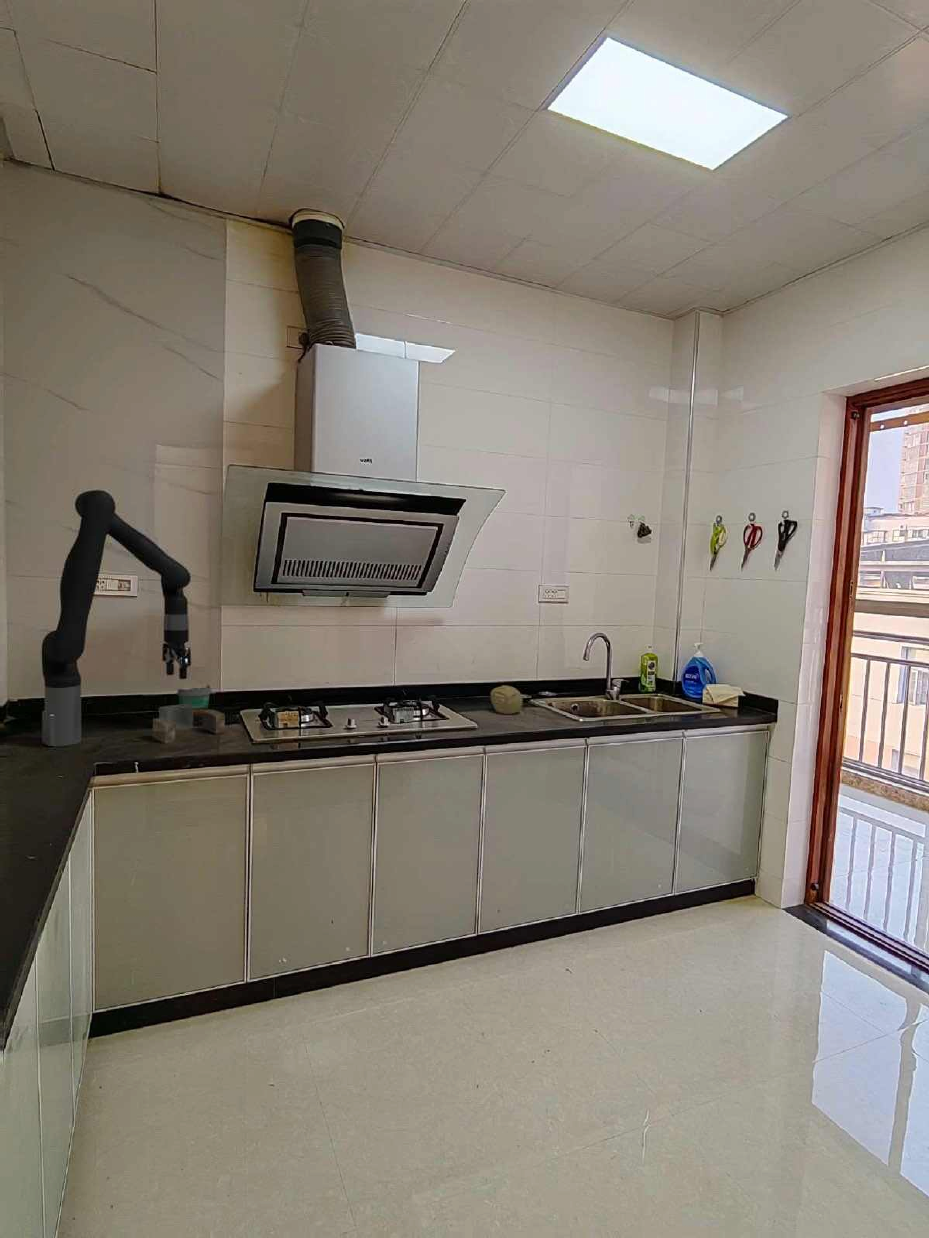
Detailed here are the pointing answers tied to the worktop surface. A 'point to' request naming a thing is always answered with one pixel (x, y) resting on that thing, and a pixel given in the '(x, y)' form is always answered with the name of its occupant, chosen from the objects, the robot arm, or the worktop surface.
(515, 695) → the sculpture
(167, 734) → the beige brown block
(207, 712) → the block
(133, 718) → the worktop surface
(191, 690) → the food container
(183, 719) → the block
